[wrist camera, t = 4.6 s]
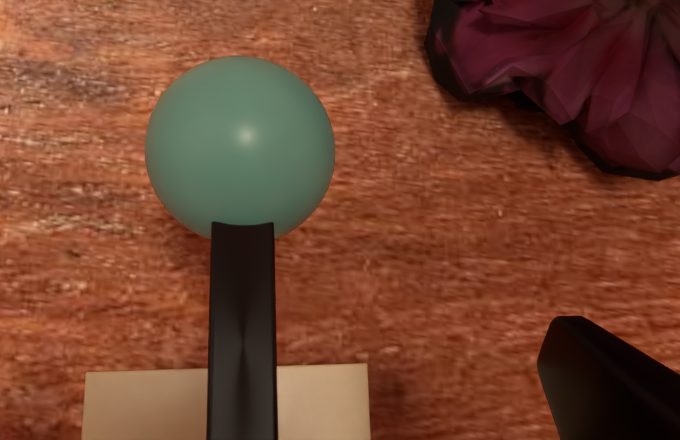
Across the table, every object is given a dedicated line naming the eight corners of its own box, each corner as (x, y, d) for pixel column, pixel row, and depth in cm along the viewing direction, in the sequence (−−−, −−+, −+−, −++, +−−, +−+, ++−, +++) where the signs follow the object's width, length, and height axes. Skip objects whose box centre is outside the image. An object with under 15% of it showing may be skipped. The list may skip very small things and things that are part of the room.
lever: (159, 117, 14) (140, 5, 10) (316, 124, 14) (345, 21, 11) (115, 818, 9) (55, 1014, 6) (350, 780, 10) (416, 935, 6)
